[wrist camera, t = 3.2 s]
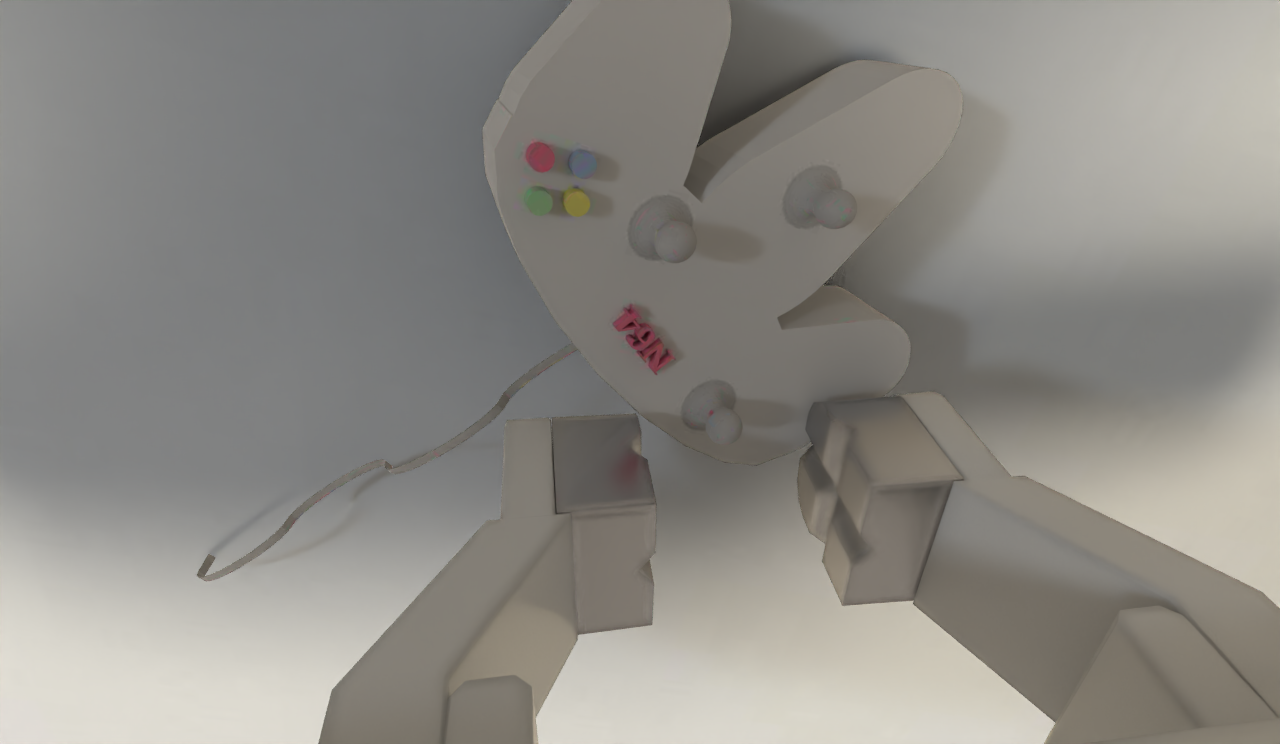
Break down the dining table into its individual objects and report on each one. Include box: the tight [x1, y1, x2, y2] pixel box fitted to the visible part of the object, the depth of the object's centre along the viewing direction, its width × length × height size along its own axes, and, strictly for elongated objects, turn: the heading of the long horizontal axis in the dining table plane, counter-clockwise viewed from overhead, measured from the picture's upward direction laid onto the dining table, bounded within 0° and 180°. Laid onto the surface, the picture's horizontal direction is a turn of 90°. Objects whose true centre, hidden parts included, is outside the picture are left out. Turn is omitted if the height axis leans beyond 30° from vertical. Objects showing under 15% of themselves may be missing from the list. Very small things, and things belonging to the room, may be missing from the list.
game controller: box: [197, 0, 963, 581], centre depth 9 cm, size 6×12×3 cm, turn 142°
